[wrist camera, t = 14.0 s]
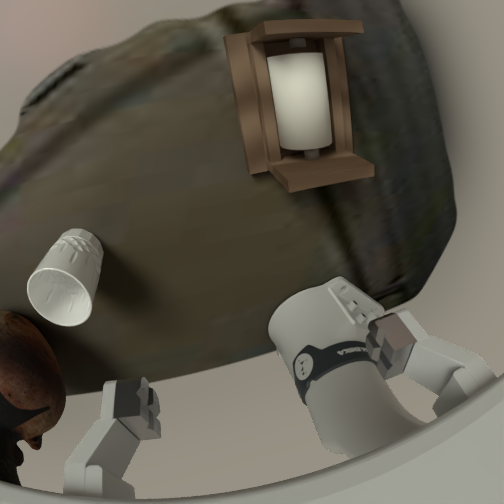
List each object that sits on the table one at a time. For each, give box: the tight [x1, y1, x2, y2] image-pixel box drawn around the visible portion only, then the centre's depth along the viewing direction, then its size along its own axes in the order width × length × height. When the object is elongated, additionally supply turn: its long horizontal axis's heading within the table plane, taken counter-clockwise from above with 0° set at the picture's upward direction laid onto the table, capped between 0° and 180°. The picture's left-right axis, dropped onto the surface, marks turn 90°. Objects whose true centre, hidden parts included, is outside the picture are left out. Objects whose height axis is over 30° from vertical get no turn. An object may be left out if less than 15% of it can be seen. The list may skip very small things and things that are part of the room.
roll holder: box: [223, 19, 374, 193], centre depth 27 cm, size 16×13×10 cm
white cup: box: [27, 229, 104, 326], centre depth 31 cm, size 8×8×10 cm
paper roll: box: [267, 52, 332, 150], centre depth 28 cm, size 10×6×6 cm, turn 9°
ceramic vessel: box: [0, 310, 66, 486], centre depth 27 cm, size 21×18×30 cm
